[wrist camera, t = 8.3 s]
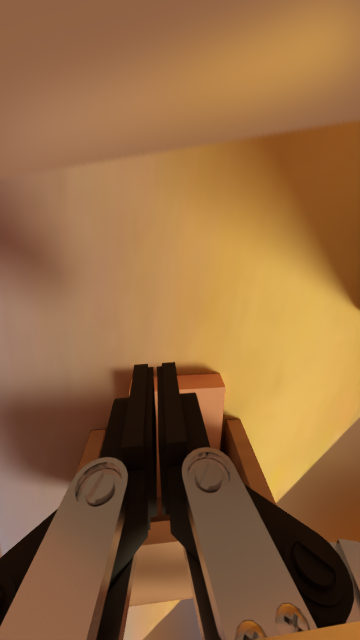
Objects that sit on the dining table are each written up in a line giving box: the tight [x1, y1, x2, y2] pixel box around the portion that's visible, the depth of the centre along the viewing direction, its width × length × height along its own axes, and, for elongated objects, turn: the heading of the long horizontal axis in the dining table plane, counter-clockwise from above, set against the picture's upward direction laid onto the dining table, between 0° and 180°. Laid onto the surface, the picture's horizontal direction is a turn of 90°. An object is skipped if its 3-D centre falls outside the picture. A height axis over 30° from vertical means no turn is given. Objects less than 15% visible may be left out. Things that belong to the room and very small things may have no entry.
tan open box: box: [76, 419, 277, 607], centre depth 18 cm, size 8×13×8 cm, turn 90°
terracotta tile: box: [129, 373, 225, 497], centre depth 20 cm, size 12×7×2 cm, turn 0°
